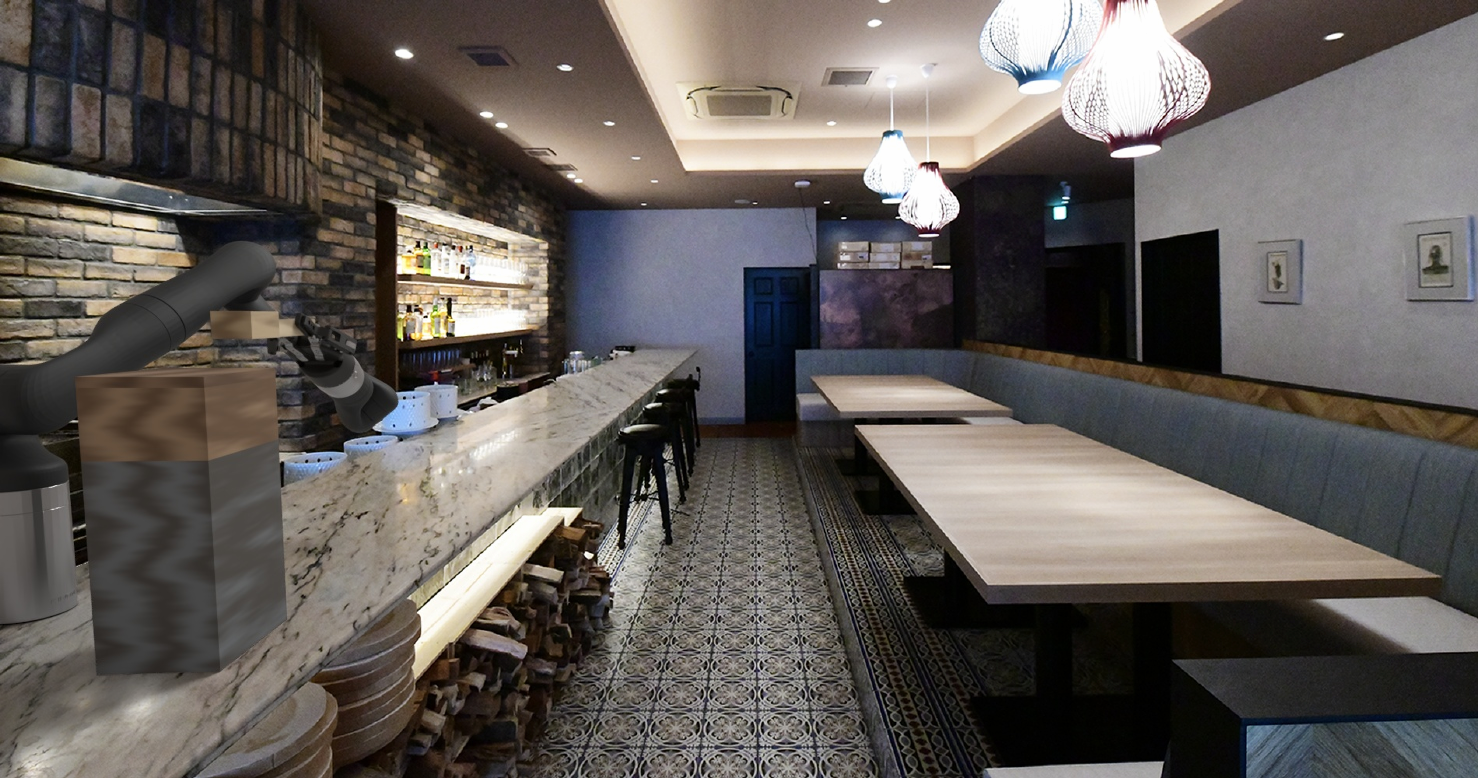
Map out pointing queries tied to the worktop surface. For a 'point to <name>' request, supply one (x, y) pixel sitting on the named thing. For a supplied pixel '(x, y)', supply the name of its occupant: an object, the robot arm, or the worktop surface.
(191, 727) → the worktop surface
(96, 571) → the grey tall block
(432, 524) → the worktop surface
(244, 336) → the wooden key
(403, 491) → the worktop surface
